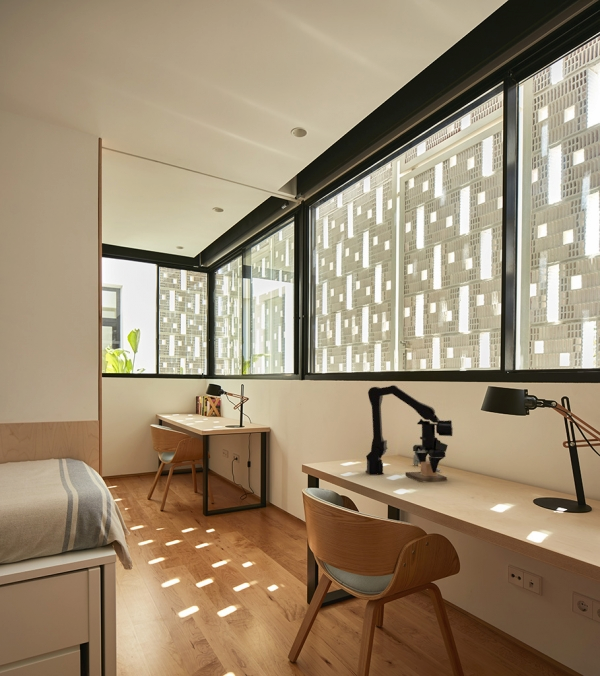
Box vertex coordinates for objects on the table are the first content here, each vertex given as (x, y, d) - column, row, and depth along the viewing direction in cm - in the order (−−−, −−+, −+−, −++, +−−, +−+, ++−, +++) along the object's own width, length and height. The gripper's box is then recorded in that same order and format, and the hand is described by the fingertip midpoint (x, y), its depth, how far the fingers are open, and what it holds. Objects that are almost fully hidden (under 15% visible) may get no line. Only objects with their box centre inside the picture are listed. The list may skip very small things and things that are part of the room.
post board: (419, 481, 195) (419, 468, 196) (405, 475, 208) (405, 463, 208) (446, 480, 198) (446, 467, 199) (431, 474, 211) (431, 462, 211)
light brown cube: (426, 475, 201) (426, 464, 201) (420, 473, 206) (420, 461, 206) (436, 475, 202) (436, 463, 202) (431, 472, 207) (430, 461, 207)
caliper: (413, 465, 234) (412, 453, 235) (414, 465, 234) (414, 453, 235) (440, 473, 215) (440, 459, 216) (442, 473, 216) (442, 459, 216)
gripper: (456, 437, 198) (456, 474, 197) (434, 432, 216) (434, 466, 215) (432, 437, 195) (433, 475, 194) (412, 432, 214) (412, 466, 212)
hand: (428, 470), depth 204 cm, fingers open, 9 cm apart
